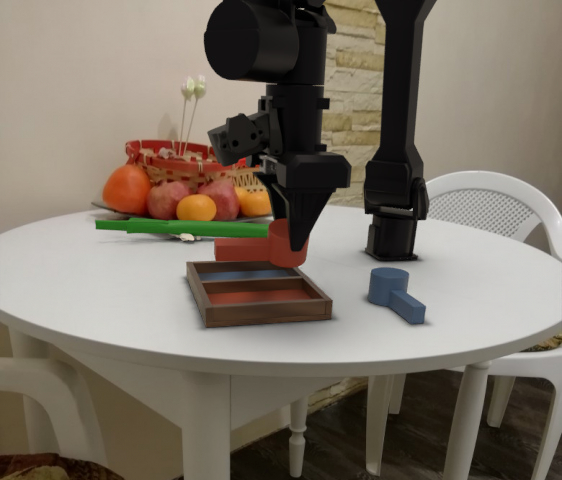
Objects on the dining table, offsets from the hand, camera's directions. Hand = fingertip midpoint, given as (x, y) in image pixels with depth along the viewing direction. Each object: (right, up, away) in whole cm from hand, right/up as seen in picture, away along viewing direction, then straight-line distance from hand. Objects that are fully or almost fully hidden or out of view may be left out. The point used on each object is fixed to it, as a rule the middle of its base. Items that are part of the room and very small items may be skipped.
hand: (288, 245), depth 60 cm
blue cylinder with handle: (+13, -6, +4) cm, 15 cm away
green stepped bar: (-16, +8, +31) cm, 36 cm away
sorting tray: (-4, -5, +6) cm, 9 cm away
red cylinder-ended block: (-3, -1, +1) cm, 3 cm away
